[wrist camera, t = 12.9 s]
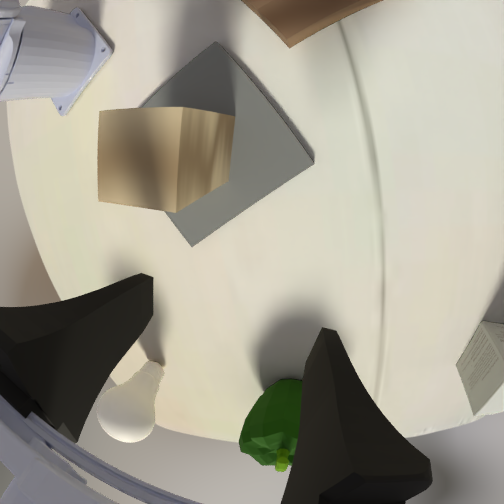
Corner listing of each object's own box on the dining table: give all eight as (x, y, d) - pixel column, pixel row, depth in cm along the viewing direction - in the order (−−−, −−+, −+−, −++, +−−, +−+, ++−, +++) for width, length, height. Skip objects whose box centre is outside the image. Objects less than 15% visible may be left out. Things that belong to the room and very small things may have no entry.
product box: (515, 323, 18) (545, 368, 12) (489, 365, 21) (510, 412, 14) (481, 319, 19) (511, 371, 13) (453, 365, 22) (472, 418, 15)
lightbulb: (128, 341, 29) (75, 408, 19) (173, 348, 28) (123, 429, 18) (145, 377, 31) (103, 441, 22) (187, 385, 30) (149, 459, 20)
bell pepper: (305, 421, 29) (295, 493, 20) (243, 398, 29) (219, 473, 20) (347, 385, 25) (347, 471, 16) (276, 357, 25) (255, 448, 16)
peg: (174, 113, 18) (99, 111, 10) (235, 116, 17) (182, 106, 10) (170, 174, 20) (98, 201, 12) (228, 181, 19) (176, 213, 12)
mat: (117, 139, 20) (113, 139, 19) (218, 43, 15) (215, 41, 15) (194, 244, 22) (191, 247, 22) (314, 163, 18) (314, 163, 17)
